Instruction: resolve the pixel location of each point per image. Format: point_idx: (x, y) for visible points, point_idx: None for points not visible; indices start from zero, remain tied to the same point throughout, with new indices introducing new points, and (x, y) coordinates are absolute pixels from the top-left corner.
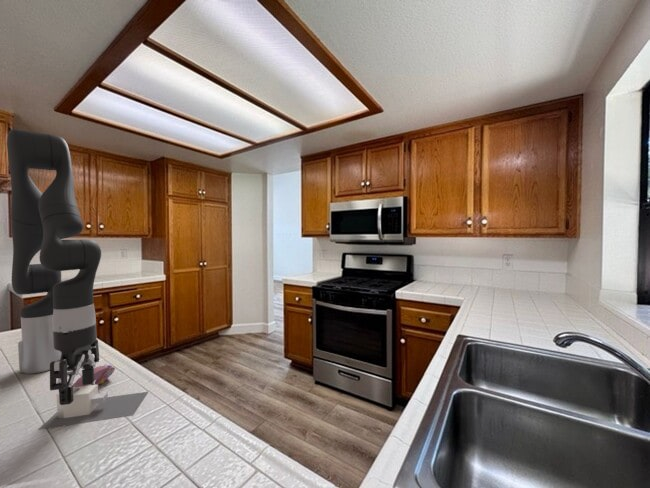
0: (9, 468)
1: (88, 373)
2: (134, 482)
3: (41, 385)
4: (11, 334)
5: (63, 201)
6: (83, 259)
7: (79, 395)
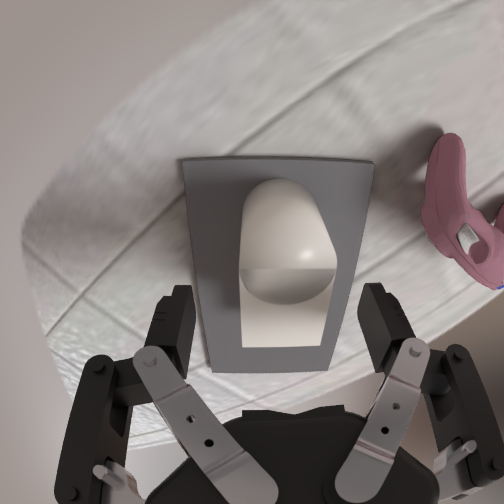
0: (42, 202)
1: (376, 343)
2: (64, 384)
3: None
4: None
5: None
6: None
7: (242, 320)
